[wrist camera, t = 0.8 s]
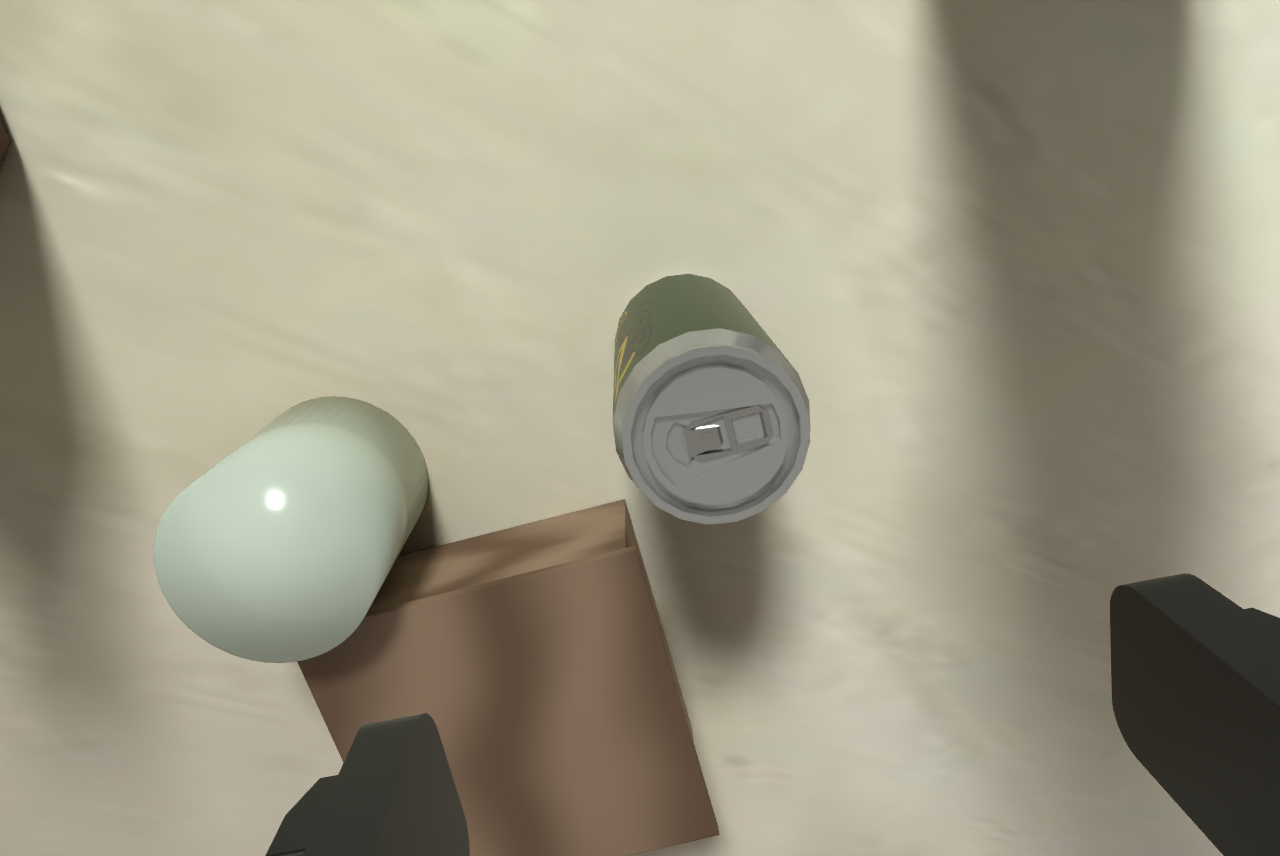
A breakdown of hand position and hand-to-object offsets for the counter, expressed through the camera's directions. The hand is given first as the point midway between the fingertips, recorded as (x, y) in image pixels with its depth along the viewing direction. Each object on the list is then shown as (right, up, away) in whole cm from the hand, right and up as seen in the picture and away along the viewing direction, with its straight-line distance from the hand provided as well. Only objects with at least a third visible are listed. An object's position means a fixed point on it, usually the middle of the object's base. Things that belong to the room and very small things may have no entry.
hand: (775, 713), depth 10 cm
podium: (-7, -7, +27) cm, 29 cm away
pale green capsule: (-14, +1, +25) cm, 28 cm away
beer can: (0, +7, +23) cm, 24 cm away
